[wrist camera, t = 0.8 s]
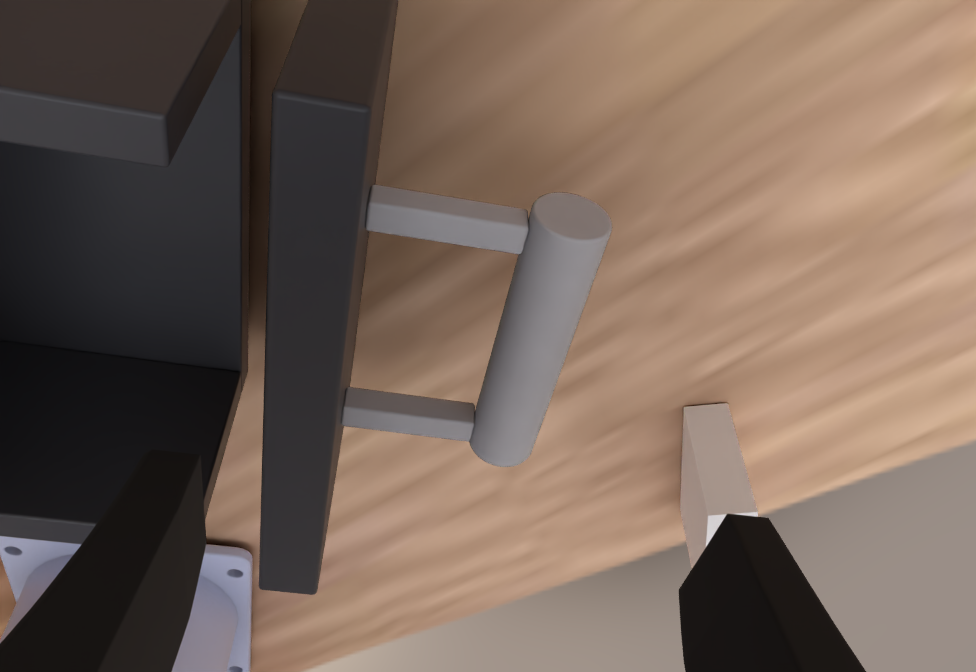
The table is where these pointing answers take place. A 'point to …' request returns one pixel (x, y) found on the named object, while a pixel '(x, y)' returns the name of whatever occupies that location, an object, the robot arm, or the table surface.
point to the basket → (228, 263)
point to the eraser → (711, 475)
